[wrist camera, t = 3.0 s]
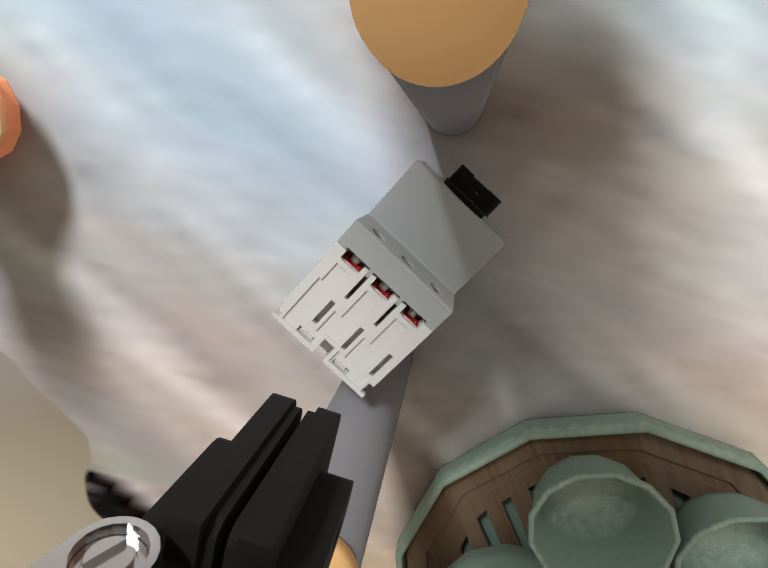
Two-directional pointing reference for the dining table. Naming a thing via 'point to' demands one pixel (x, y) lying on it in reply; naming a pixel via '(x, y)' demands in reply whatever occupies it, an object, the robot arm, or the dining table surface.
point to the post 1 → (364, 454)
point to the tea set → (593, 500)
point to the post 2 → (441, 51)
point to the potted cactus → (8, 119)
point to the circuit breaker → (395, 273)
